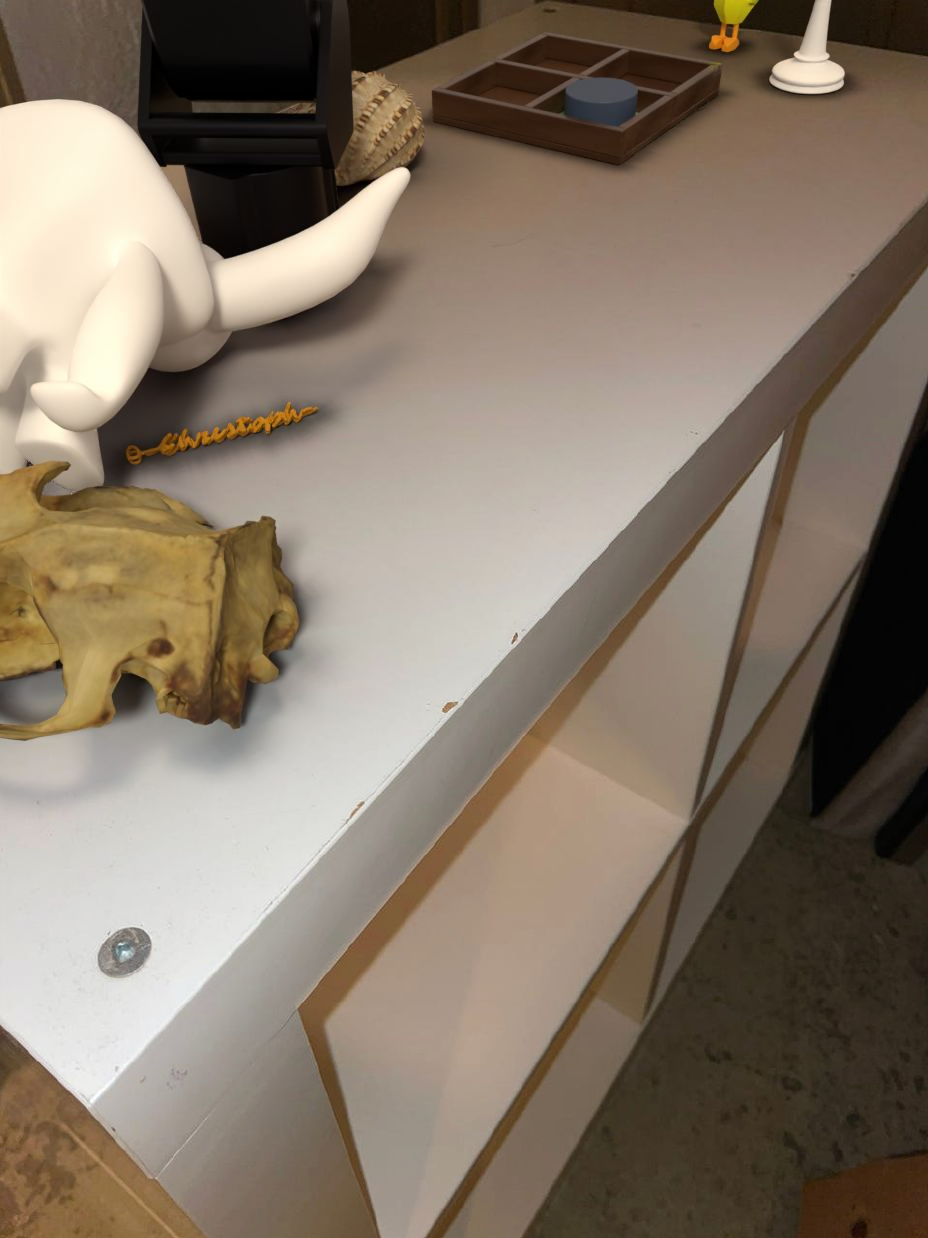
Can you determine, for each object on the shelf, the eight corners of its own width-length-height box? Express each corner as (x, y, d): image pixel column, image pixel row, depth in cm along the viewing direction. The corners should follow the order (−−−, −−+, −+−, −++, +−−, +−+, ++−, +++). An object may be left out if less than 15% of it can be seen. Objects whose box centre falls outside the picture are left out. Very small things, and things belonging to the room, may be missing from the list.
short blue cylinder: (613, 142, 58) (615, 107, 56) (550, 128, 59) (551, 93, 58) (647, 119, 60) (650, 84, 58) (586, 106, 62) (588, 72, 60)
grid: (619, 165, 57) (622, 131, 55) (432, 121, 62) (431, 89, 61) (718, 94, 64) (723, 62, 63) (544, 60, 70) (545, 31, 69)
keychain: (131, 472, 38) (123, 448, 37) (129, 463, 38) (121, 440, 38) (322, 422, 39) (317, 399, 39) (316, 415, 40) (311, 392, 40)
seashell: (380, 261, 55) (450, 128, 58) (345, 183, 50) (424, 39, 52) (270, 237, 58) (341, 110, 60) (226, 160, 52) (306, 24, 55)
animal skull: (-119, 642, 35) (-232, 490, 30) (295, 536, 36) (243, 376, 32) (-205, 876, 27) (-374, 717, 23) (328, 731, 28) (264, 553, 24)
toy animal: (310, 557, 35) (436, 220, 41) (70, 308, 25) (288, -82, 31) (-50, 542, 43) (102, 267, 50) (-332, 356, 34) (-96, 44, 40)
